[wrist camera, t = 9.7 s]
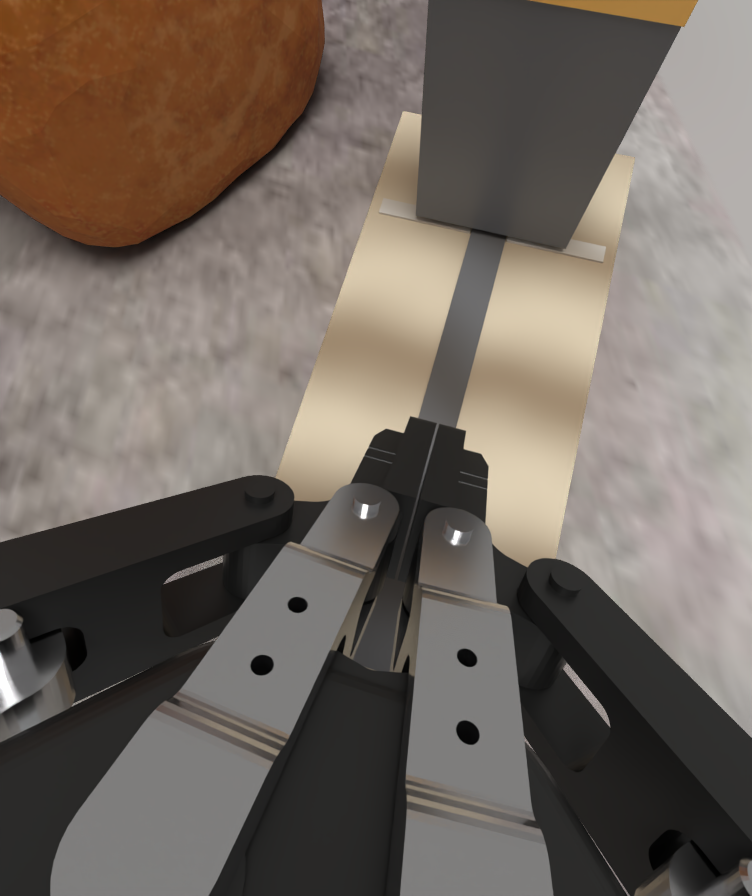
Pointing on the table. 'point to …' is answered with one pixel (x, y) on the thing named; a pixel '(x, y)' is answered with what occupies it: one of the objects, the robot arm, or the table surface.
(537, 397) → the grooved wooden slider track
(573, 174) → the fader knob
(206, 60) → the bread
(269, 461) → the table surface
